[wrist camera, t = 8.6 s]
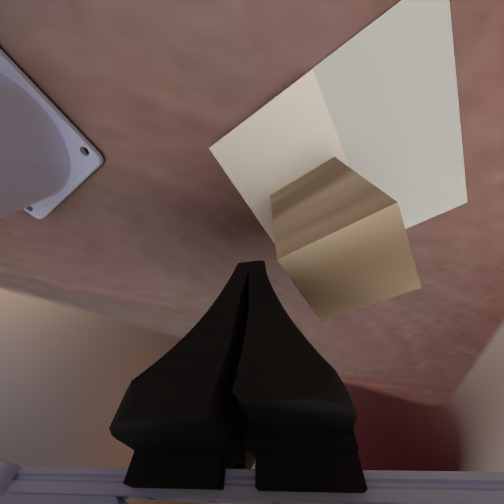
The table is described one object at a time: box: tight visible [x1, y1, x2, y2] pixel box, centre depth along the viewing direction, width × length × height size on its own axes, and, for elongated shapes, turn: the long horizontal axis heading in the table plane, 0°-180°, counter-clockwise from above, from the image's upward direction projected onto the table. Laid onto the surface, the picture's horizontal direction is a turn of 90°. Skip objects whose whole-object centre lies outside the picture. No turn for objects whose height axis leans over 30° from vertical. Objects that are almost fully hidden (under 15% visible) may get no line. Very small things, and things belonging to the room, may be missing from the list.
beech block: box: [270, 157, 422, 322], centre depth 10 cm, size 4×4×6 cm
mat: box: [311, 0, 467, 229], centre depth 13 cm, size 12×6×1 cm, turn 33°
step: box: [209, 69, 349, 244], centre depth 14 cm, size 12×6×2 cm, turn 33°
